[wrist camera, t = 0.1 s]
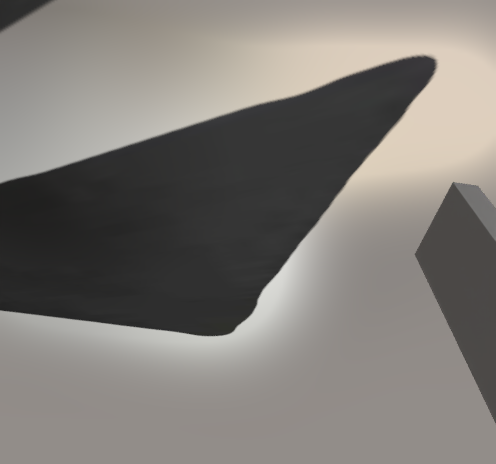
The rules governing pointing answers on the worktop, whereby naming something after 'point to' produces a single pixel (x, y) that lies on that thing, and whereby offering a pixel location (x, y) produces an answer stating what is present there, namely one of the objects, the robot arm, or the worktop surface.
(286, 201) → the worktop surface
